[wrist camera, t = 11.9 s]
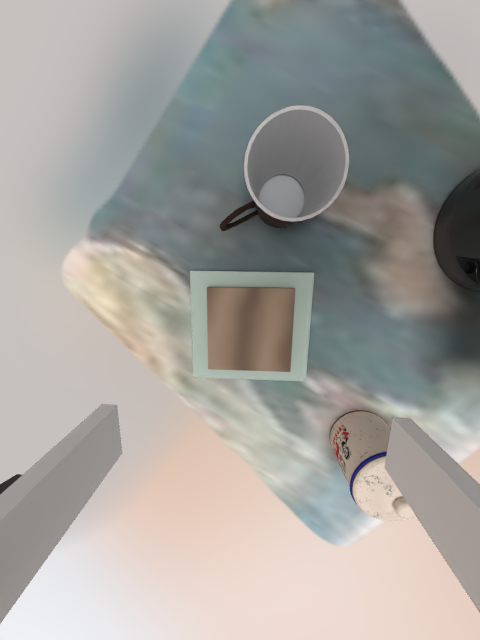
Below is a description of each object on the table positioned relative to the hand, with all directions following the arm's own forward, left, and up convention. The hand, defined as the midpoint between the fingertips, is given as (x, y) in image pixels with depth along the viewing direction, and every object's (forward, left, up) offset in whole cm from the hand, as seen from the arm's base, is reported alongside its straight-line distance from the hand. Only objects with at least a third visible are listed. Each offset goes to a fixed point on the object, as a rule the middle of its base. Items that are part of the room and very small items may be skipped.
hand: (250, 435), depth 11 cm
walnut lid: (0, 0, -21) cm, 21 cm away
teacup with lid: (-17, +18, -22) cm, 33 cm away
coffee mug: (-2, -16, -22) cm, 27 cm away
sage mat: (0, 0, -22) cm, 22 cm away
